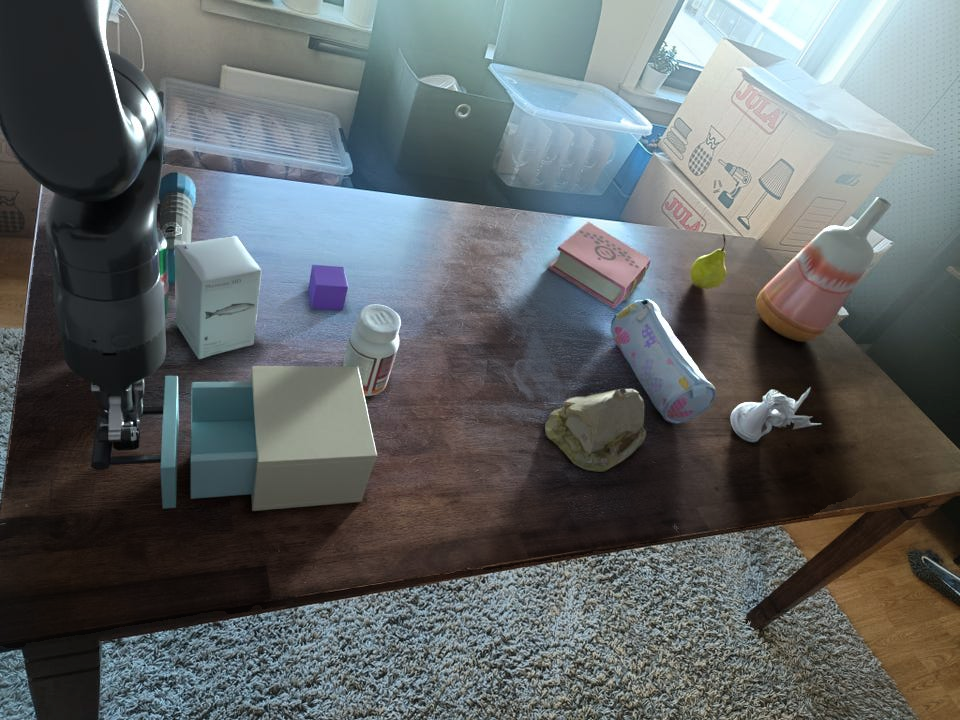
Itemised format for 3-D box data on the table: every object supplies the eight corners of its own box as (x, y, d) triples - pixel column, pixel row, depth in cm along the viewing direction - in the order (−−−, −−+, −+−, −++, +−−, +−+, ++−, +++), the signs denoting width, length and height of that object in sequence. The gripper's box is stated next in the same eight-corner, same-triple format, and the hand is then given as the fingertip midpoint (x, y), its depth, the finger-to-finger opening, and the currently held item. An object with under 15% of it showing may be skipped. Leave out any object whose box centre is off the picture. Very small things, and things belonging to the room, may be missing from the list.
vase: (750, 329, 125) (854, 201, 105) (747, 291, 136) (841, 169, 116) (817, 359, 124) (933, 236, 105) (809, 319, 135) (913, 201, 116)
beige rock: (578, 482, 82) (612, 435, 76) (532, 418, 88) (560, 370, 82) (649, 454, 90) (685, 410, 84) (602, 397, 96) (633, 351, 89)
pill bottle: (383, 364, 86) (401, 302, 79) (389, 398, 82) (409, 337, 75) (337, 362, 84) (352, 298, 77) (342, 397, 80) (357, 333, 73)
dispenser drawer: (93, 514, 60) (85, 472, 55) (105, 420, 67) (98, 375, 62) (273, 500, 66) (280, 461, 62) (266, 415, 74) (271, 375, 69)
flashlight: (195, 201, 99) (196, 173, 95) (194, 292, 85) (194, 263, 82) (160, 197, 97) (159, 169, 93) (152, 290, 83) (151, 260, 80)
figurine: (718, 413, 102) (762, 362, 94) (752, 412, 105) (798, 363, 97) (754, 468, 95) (806, 419, 87) (790, 465, 98) (843, 417, 91)
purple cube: (311, 309, 90) (315, 284, 87) (308, 288, 93) (312, 264, 90) (343, 310, 92) (348, 286, 89) (338, 290, 95) (343, 266, 92)
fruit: (719, 291, 132) (752, 244, 124) (705, 300, 127) (739, 252, 119) (692, 271, 134) (724, 225, 126) (678, 280, 130) (710, 232, 122)
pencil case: (600, 333, 108) (625, 291, 101) (641, 335, 111) (668, 294, 105) (653, 430, 94) (686, 388, 88) (698, 429, 98) (733, 388, 92)
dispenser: (252, 511, 66) (258, 462, 60) (246, 417, 74) (251, 365, 68) (361, 501, 70) (377, 455, 65) (345, 414, 78) (358, 366, 73)
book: (617, 311, 114) (630, 290, 111) (548, 267, 117) (558, 246, 114) (642, 281, 125) (654, 261, 121) (578, 242, 128) (588, 221, 124)
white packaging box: (198, 361, 77) (199, 282, 69) (174, 322, 80) (172, 242, 72) (255, 346, 82) (263, 270, 73) (231, 310, 85) (235, 233, 77)
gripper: (69, 260, 53) (90, 394, 65) (44, 375, 45) (73, 505, 56) (167, 266, 56) (171, 392, 68) (161, 375, 48) (167, 498, 59)
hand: (127, 443), depth 62 cm, fingers closed
